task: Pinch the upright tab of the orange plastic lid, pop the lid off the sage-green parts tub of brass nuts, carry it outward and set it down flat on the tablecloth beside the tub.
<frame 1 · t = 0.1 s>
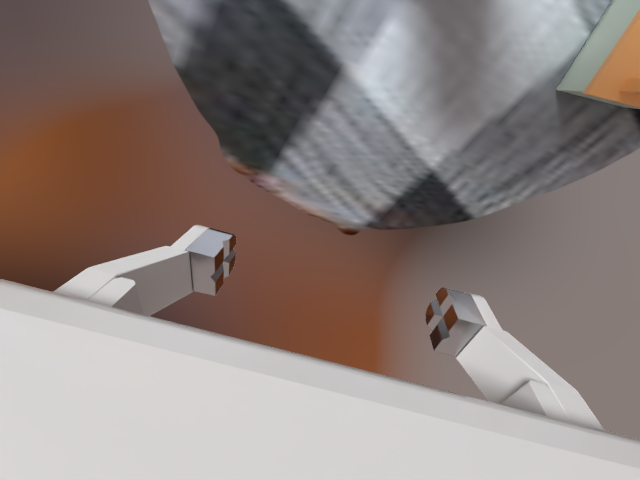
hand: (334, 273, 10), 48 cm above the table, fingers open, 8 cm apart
tub: (619, 56, 41), on the table
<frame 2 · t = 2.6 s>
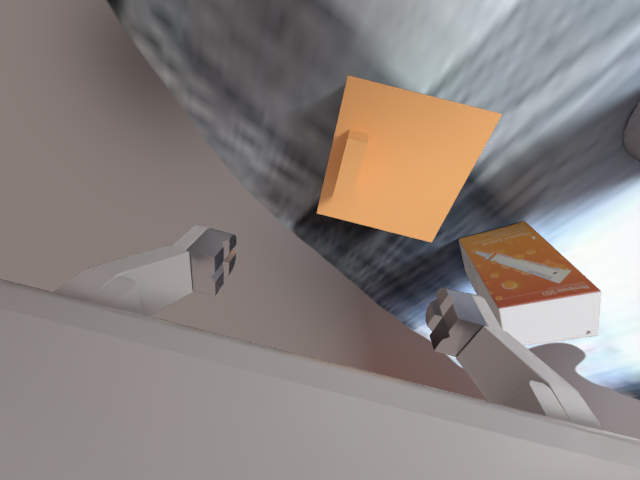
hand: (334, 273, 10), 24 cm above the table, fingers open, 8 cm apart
lid: (393, 164, 25), point 6 cm above the table, touching tub
small box: (491, 246, 36), on the table
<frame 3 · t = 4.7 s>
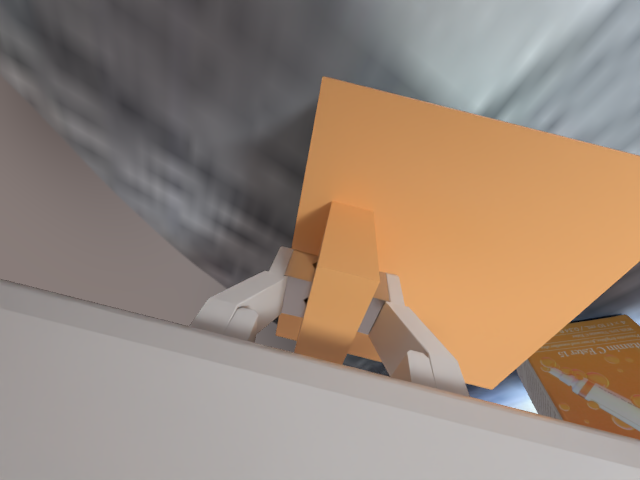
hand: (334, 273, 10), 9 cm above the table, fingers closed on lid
lid: (423, 254, 13), point 6 cm above the table, touching gripper, tub
small box: (562, 342, 23), on the table
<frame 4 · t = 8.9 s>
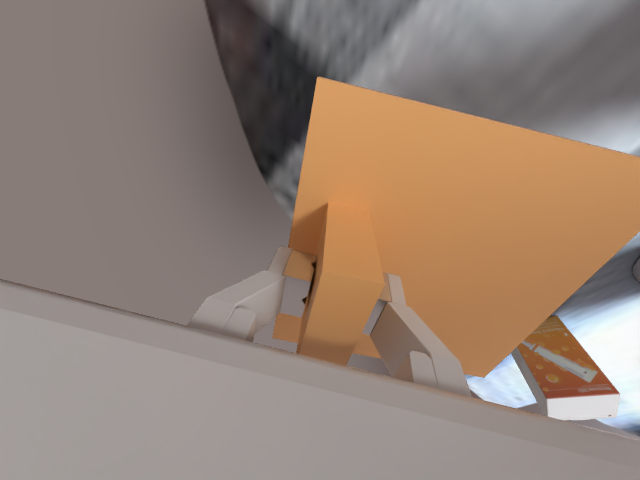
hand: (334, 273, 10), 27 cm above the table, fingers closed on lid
lid: (417, 251, 13), point 23 cm above the table, touching gripper
small box: (529, 329, 46), on the table
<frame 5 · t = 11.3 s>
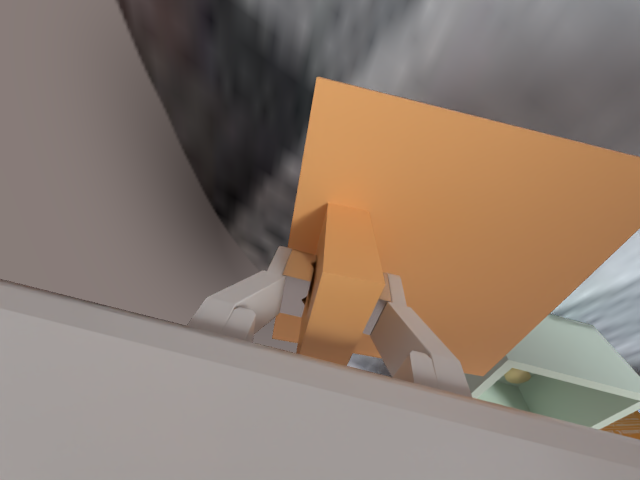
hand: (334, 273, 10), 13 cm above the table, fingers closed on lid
lid: (416, 251, 13), point 10 cm above the table, touching gripper
tub: (498, 345, 29), on the table
small box: (590, 417, 34), on the table
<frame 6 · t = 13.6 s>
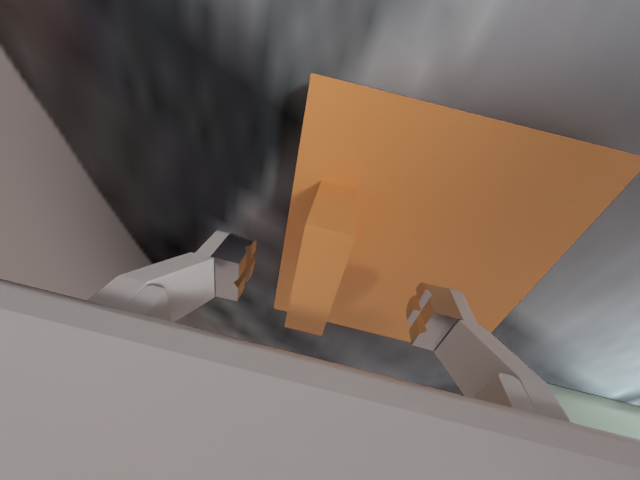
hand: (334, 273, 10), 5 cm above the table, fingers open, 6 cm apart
lid: (405, 233, 14), on the table
tub: (536, 428, 22), on the table
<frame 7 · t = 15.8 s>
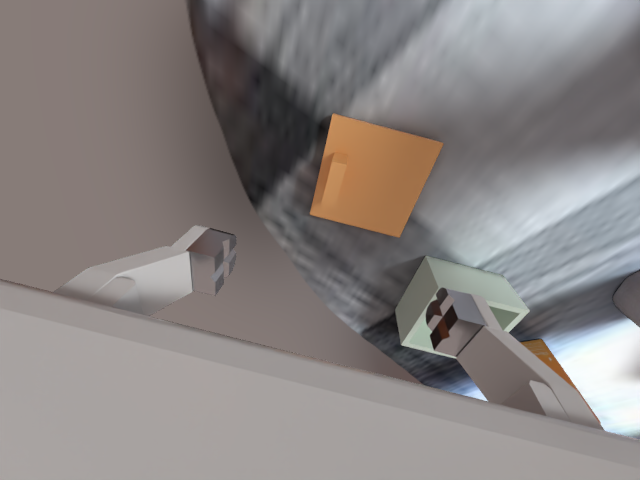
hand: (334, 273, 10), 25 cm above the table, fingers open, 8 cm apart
lid: (369, 177, 33), on the table
tub: (444, 293, 41), on the table
small box: (515, 351, 47), on the table
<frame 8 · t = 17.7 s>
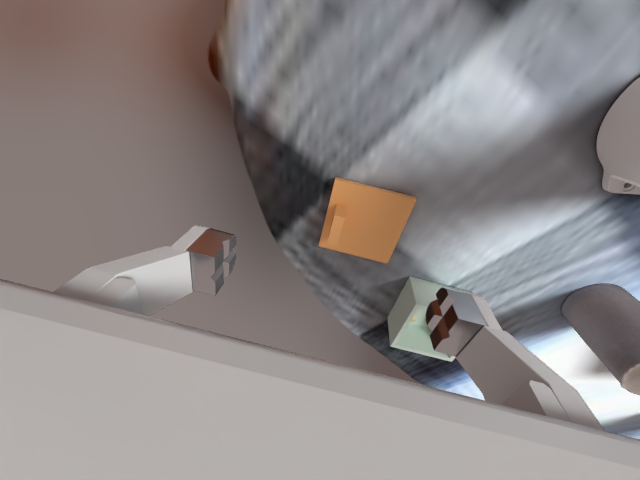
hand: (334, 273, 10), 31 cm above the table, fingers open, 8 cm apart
lid: (363, 219, 44), on the table
tub: (426, 305, 51), on the table
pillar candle: (590, 302, 46), on the table
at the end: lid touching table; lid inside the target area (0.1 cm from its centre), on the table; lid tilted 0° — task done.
